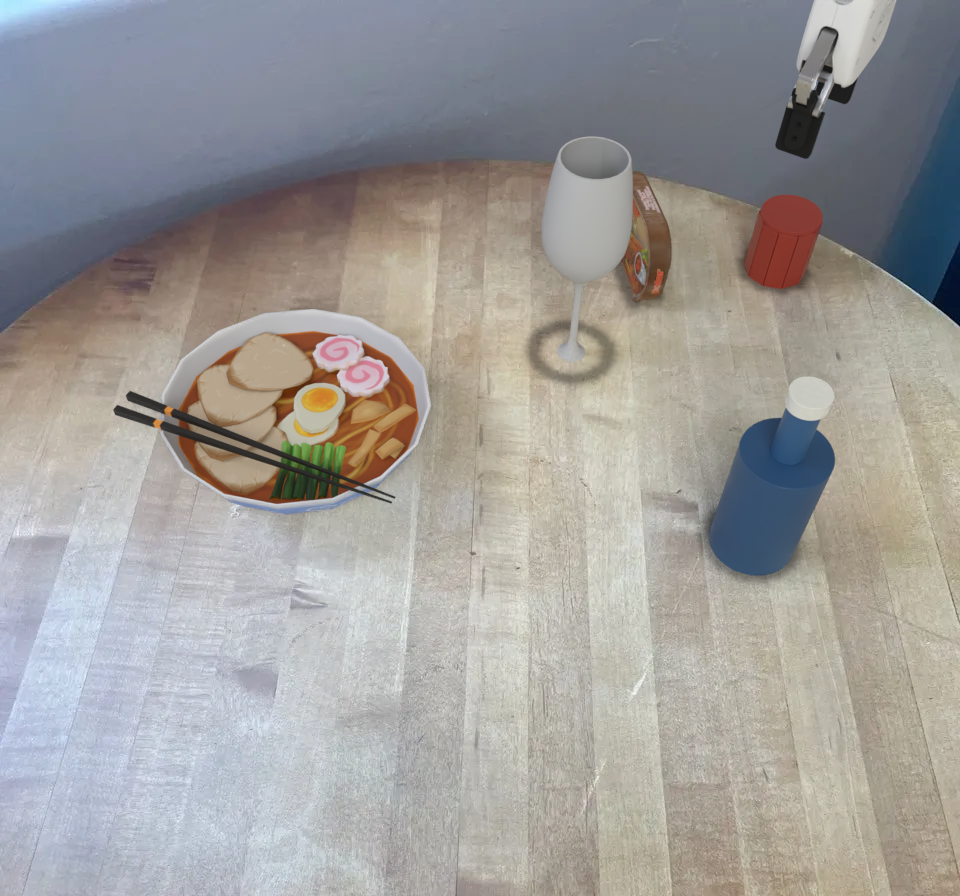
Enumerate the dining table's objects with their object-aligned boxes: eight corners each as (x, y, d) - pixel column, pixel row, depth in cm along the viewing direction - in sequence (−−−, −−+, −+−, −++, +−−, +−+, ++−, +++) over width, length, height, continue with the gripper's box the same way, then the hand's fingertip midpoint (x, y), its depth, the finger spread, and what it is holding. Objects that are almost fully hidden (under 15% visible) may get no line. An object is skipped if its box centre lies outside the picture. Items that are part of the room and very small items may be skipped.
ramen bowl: (485, 418, 93) (487, 351, 86) (370, 603, 82) (361, 544, 75) (255, 338, 98) (239, 268, 91) (117, 502, 87) (87, 437, 80)
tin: (598, 225, 108) (608, 153, 101) (626, 223, 108) (638, 150, 101) (634, 319, 100) (648, 248, 93) (664, 316, 100) (680, 244, 93)
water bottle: (803, 536, 86) (878, 380, 71) (771, 595, 83) (842, 445, 67) (727, 502, 88) (783, 342, 72) (692, 558, 85) (744, 404, 69)
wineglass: (521, 375, 96) (535, 175, 78) (544, 324, 100) (562, 122, 82) (597, 394, 95) (628, 196, 77) (617, 342, 98) (652, 141, 80)
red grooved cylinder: (810, 269, 105) (832, 206, 98) (787, 303, 102) (808, 241, 95) (757, 249, 106) (775, 186, 100) (733, 282, 103) (751, 219, 97)
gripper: (894, -31, 70) (817, 189, 84) (966, -126, 77) (884, 91, 92) (793, -61, 71) (735, 160, 86) (874, -150, 79) (808, 66, 94)
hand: (812, 124), depth 89 cm, fingers open, 9 cm apart
